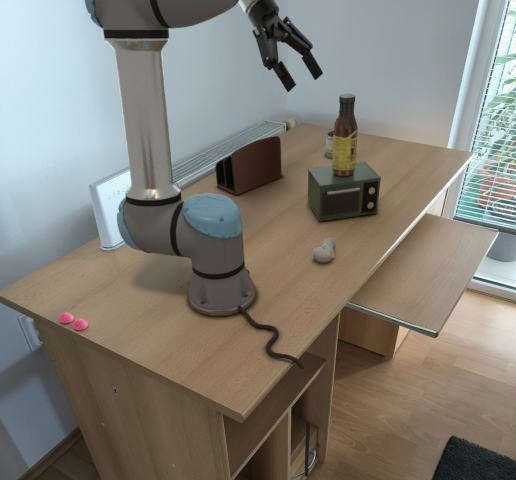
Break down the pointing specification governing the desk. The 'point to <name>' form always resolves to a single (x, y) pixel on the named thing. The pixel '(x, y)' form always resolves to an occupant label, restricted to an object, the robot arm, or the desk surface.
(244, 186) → the letter holder
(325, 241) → the pale two-lobed sculpture
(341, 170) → the sauce bottle
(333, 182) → the toaster oven
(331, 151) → the camera lens
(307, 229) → the desk surface
